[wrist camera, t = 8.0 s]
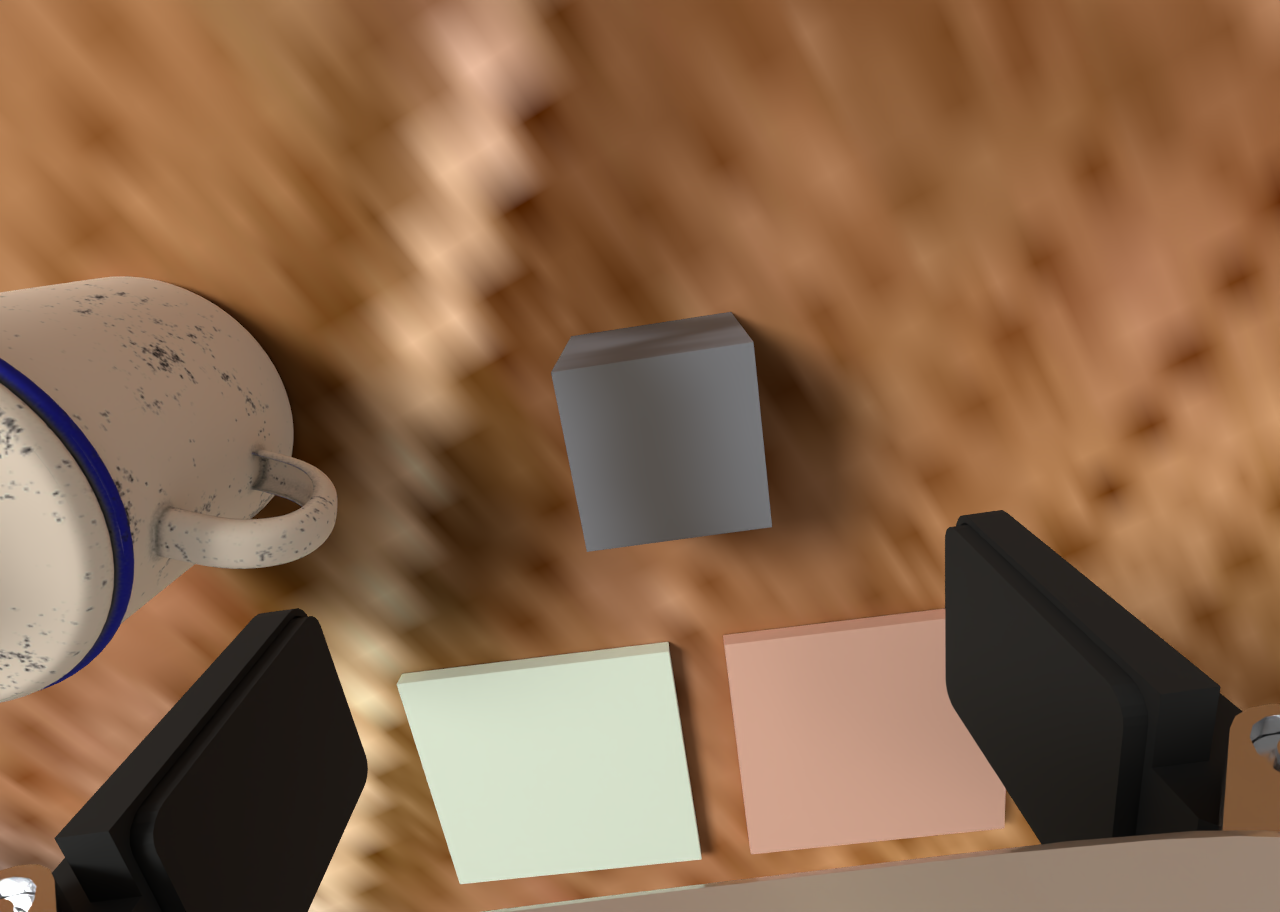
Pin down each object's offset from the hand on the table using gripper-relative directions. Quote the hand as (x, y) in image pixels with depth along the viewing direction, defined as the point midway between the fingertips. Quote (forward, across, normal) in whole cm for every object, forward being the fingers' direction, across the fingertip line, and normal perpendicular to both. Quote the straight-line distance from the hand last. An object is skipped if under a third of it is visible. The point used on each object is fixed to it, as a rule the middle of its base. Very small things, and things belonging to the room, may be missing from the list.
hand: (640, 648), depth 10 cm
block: (+13, -1, 0) cm, 13 cm away
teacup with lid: (+14, +14, -2) cm, 19 cm away
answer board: (+13, -1, +14) cm, 19 cm away
